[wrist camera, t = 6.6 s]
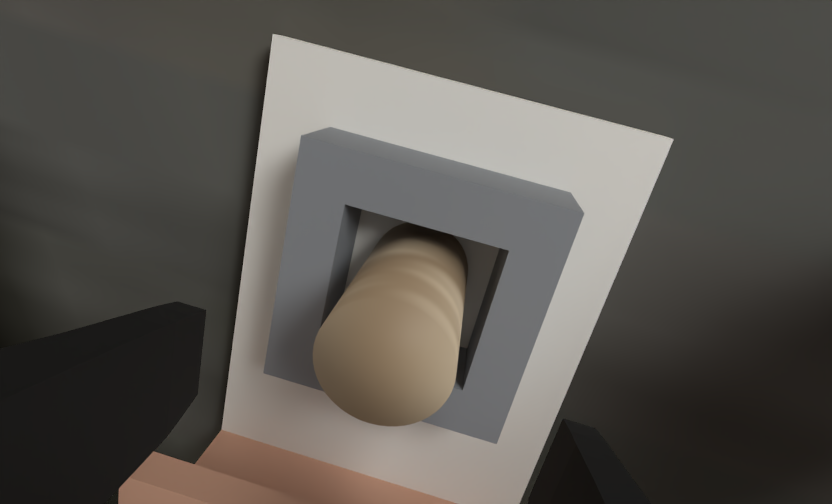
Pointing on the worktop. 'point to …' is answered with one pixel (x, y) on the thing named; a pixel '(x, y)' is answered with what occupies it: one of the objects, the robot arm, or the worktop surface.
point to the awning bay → (353, 243)
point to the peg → (396, 329)
